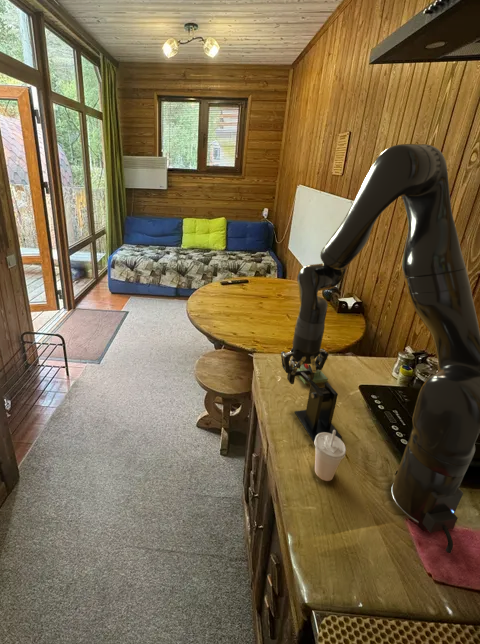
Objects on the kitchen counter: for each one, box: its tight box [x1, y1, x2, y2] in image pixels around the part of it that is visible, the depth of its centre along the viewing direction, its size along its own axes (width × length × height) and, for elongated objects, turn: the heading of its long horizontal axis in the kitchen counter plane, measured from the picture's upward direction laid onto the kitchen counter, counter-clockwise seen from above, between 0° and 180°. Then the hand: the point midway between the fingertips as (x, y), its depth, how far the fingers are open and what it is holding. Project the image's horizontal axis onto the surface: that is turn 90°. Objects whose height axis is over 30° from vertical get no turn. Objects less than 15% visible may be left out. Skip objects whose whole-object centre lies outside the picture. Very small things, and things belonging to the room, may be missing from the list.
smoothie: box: [313, 429, 347, 482], centre depth 68 cm, size 6×6×14 cm
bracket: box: [294, 382, 342, 443], centre depth 81 cm, size 10×8×13 cm
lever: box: [295, 370, 330, 402], centre depth 85 cm, size 13×5×2 cm, turn 10°
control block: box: [293, 364, 329, 385], centre depth 103 cm, size 9×8×4 cm
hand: (299, 381), depth 92 cm, fingers closed on lever, 5 cm apart
